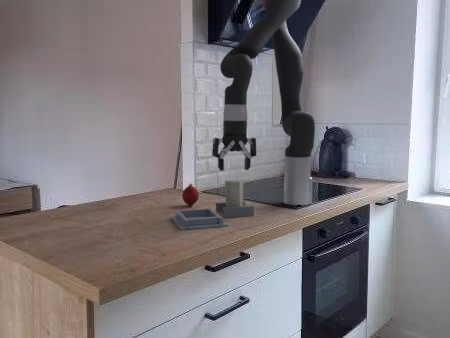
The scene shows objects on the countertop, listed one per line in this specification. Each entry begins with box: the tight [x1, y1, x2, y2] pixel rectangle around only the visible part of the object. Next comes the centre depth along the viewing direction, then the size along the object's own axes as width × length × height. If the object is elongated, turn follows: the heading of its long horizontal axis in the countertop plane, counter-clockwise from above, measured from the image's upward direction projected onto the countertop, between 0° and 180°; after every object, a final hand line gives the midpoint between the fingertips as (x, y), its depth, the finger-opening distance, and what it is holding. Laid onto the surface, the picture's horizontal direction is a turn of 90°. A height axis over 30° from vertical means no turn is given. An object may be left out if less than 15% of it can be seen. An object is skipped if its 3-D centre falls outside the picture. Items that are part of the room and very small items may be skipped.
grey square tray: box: [170, 207, 229, 231], centre depth 123 cm, size 14×14×3 cm
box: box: [224, 178, 244, 207], centre depth 133 cm, size 5×4×11 cm
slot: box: [215, 200, 255, 219], centre depth 134 cm, size 10×9×3 cm
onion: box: [182, 183, 200, 207], centre depth 144 cm, size 6×6×8 cm
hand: (234, 170), depth 132 cm, fingers open, 8 cm apart
